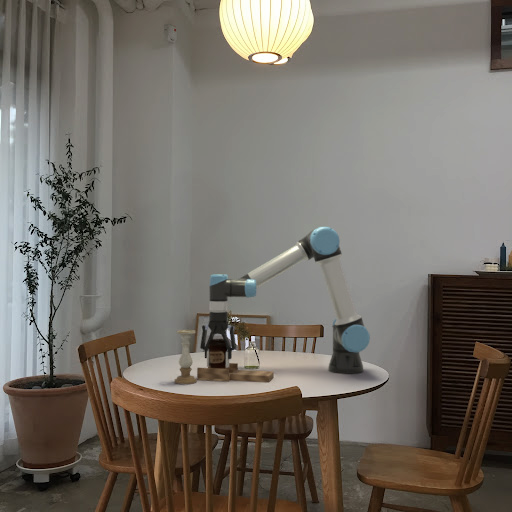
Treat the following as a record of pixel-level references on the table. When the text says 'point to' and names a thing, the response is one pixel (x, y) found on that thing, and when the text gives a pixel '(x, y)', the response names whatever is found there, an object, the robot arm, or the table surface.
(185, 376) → the candle holder
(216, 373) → the wooden stepped block
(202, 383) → the table surface
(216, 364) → the coffee cup
